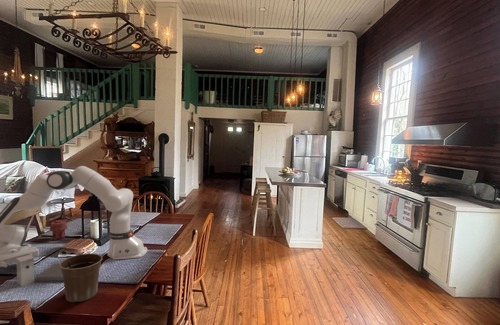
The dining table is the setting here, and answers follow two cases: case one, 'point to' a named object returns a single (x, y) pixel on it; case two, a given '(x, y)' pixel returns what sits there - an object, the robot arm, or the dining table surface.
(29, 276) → the off-white rectangular block
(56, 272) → the steel plate
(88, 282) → the plant pot
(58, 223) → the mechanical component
